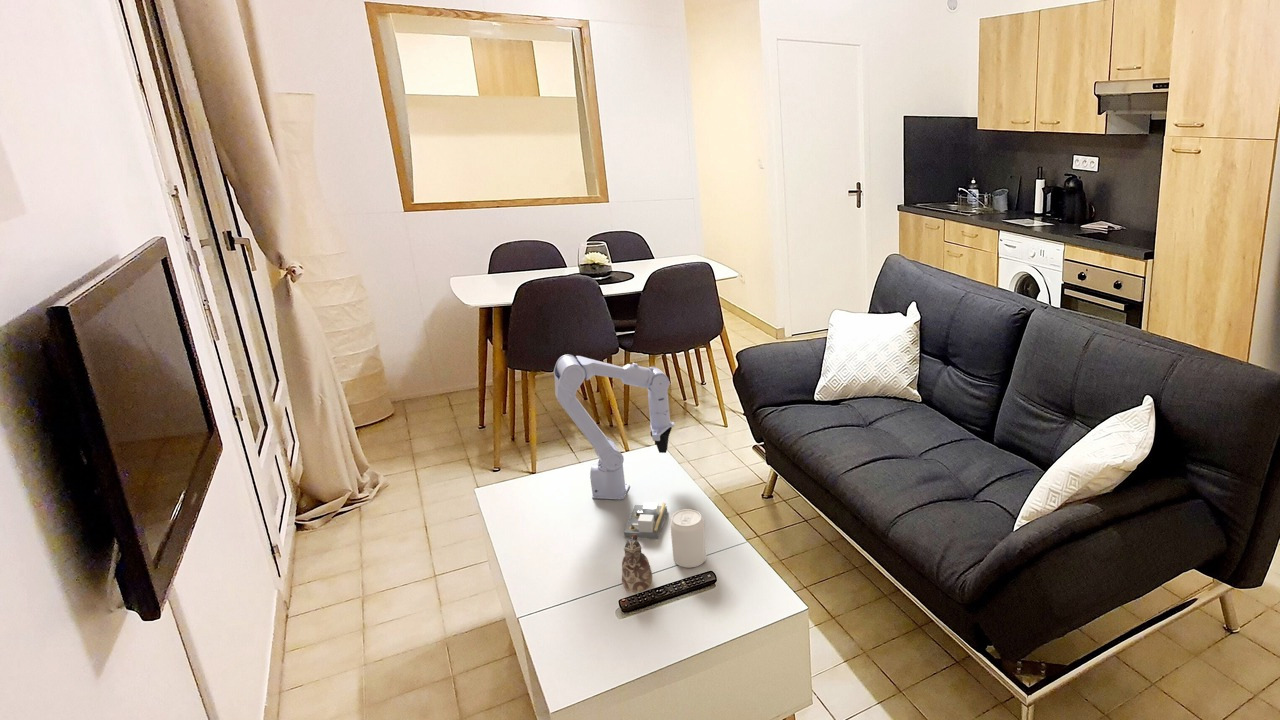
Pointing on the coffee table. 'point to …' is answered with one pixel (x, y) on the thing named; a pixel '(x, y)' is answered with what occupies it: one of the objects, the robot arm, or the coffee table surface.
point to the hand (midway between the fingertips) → (663, 451)
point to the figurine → (635, 568)
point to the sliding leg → (650, 509)
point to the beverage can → (688, 538)
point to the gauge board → (634, 520)
